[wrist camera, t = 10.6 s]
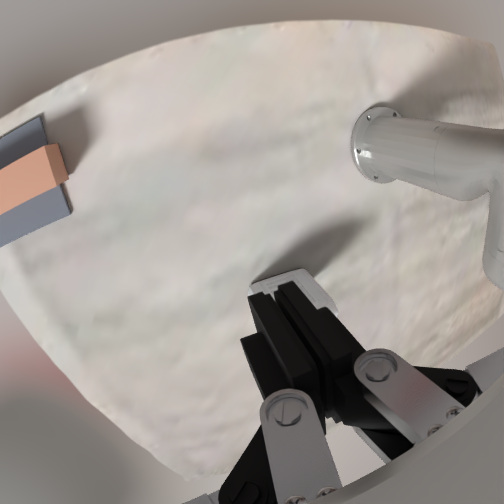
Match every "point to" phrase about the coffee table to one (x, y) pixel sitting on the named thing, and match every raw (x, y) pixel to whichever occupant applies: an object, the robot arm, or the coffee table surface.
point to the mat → (39, 207)
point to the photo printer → (302, 281)
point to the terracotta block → (31, 176)
